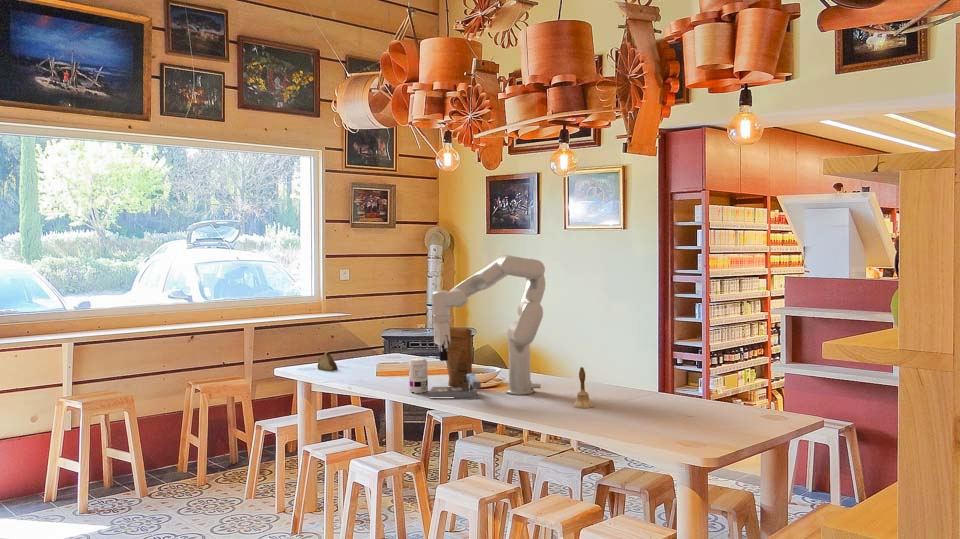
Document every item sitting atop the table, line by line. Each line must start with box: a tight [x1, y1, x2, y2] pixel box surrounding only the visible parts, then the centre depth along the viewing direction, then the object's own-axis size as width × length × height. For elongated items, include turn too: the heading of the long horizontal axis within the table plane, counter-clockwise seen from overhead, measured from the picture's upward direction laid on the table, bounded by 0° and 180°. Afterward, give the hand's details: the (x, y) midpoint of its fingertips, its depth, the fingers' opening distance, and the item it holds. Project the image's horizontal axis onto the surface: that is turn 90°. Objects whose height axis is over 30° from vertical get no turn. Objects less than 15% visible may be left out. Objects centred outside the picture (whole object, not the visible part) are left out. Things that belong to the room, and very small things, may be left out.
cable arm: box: [467, 373, 482, 389], centre depth 337 cm, size 20×4×2 cm, turn 9°
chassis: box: [428, 381, 478, 399], centre depth 343 cm, size 20×10×6 cm, turn 85°
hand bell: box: [572, 366, 594, 409], centre depth 320 cm, size 8×8×16 cm
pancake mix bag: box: [445, 327, 473, 387], centre depth 362 cm, size 7×19×28 cm, turn 45°
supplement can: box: [408, 357, 429, 394], centre depth 353 cm, size 8×8×15 cm
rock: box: [317, 351, 339, 371], centre depth 415 cm, size 11×9×10 cm
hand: (443, 360), depth 341 cm, fingers closed
